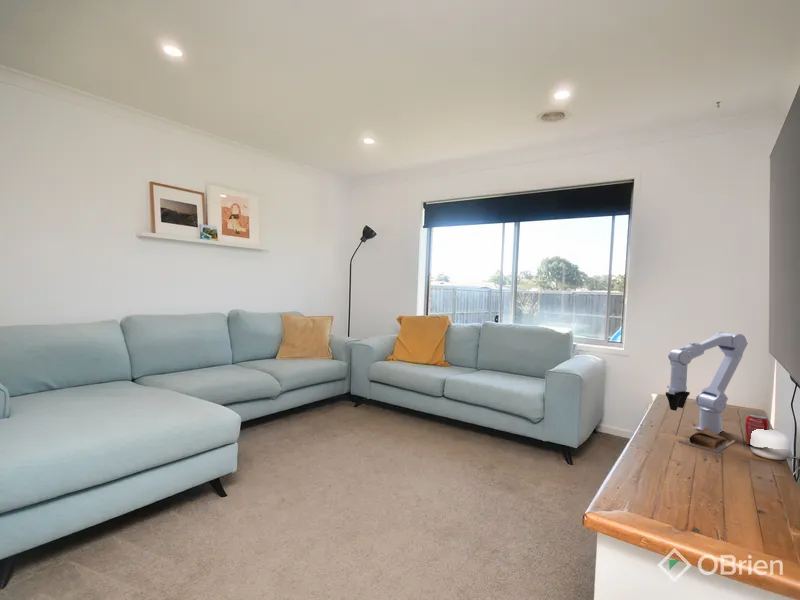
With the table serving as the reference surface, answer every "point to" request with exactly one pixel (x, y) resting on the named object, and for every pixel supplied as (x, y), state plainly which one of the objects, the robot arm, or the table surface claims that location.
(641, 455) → the table surface
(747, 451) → the table surface
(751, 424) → the soda can
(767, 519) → the table surface
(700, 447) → the taped bay
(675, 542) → the table surface
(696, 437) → the sunglasses case
